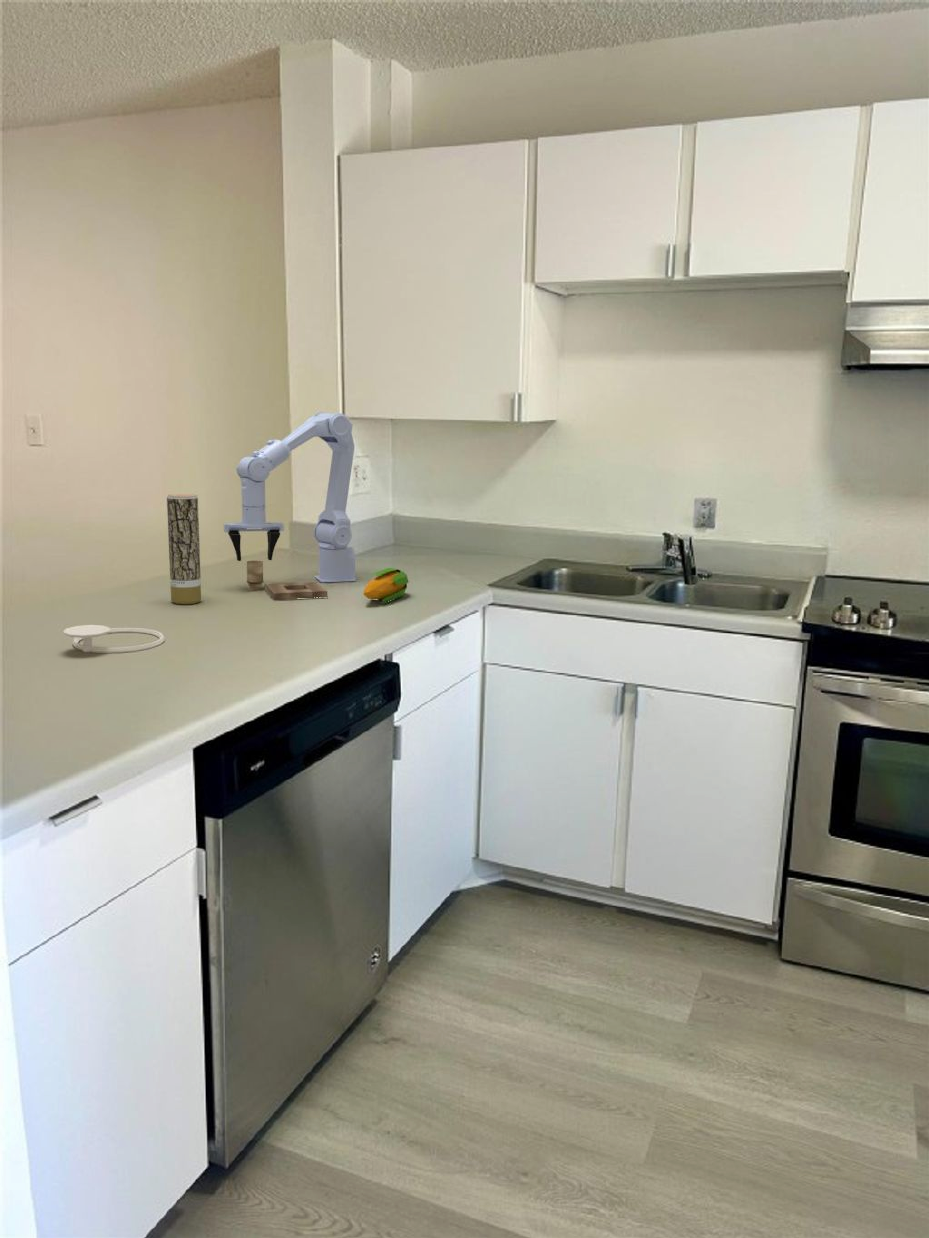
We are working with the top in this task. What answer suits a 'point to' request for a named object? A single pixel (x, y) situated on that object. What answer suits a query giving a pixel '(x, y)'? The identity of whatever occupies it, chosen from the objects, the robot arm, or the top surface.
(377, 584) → the corn
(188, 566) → the paper tube
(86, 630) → the hand towel holder
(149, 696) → the top surface
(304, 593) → the board
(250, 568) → the peg
